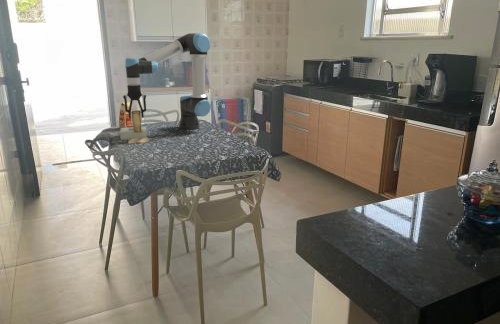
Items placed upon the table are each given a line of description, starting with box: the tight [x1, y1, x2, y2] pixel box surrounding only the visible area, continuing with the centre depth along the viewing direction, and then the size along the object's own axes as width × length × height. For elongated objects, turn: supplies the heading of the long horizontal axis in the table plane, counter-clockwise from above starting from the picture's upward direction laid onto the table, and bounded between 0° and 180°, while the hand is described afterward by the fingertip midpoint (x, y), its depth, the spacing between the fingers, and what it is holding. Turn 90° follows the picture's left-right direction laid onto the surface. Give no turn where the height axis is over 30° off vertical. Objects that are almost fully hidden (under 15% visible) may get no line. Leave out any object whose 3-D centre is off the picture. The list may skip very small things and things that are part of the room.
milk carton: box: [118, 100, 134, 130], centre depth 268 cm, size 9×9×20 cm
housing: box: [119, 126, 148, 141], centre depth 248 cm, size 16×12×5 cm
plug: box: [132, 110, 142, 133], centre depth 234 cm, size 5×5×13 cm
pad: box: [128, 137, 150, 145], centre depth 238 cm, size 12×10×1 cm
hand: (136, 122), depth 235 cm, fingers closed on plug, 5 cm apart
